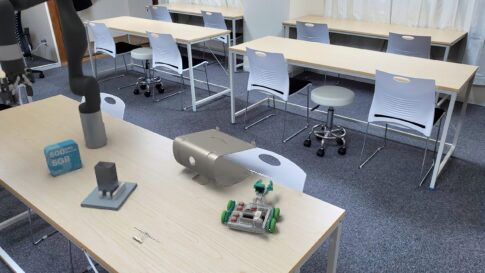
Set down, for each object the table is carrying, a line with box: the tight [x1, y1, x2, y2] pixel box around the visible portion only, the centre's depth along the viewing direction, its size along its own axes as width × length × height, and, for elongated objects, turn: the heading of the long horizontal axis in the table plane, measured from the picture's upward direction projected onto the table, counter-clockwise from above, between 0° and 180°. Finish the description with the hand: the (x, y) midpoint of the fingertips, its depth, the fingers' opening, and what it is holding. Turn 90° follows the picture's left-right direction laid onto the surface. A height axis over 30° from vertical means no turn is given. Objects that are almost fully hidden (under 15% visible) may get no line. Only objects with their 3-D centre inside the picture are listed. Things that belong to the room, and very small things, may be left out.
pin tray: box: [80, 180, 138, 212], centre depth 137 cm, size 16×14×4 cm
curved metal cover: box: [172, 126, 257, 187], centre depth 150 cm, size 26×24×16 cm
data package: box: [43, 139, 83, 177], centre depth 152 cm, size 12×4×12 cm, turn 132°
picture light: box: [132, 225, 162, 244], centre depth 117 cm, size 14×4×2 cm, turn 52°
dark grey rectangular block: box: [93, 160, 119, 197], centre depth 135 cm, size 4×6×12 cm, turn 80°
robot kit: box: [220, 179, 281, 234], centre depth 128 cm, size 19×25×9 cm
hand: (22, 99), depth 139 cm, fingers open, 8 cm apart
